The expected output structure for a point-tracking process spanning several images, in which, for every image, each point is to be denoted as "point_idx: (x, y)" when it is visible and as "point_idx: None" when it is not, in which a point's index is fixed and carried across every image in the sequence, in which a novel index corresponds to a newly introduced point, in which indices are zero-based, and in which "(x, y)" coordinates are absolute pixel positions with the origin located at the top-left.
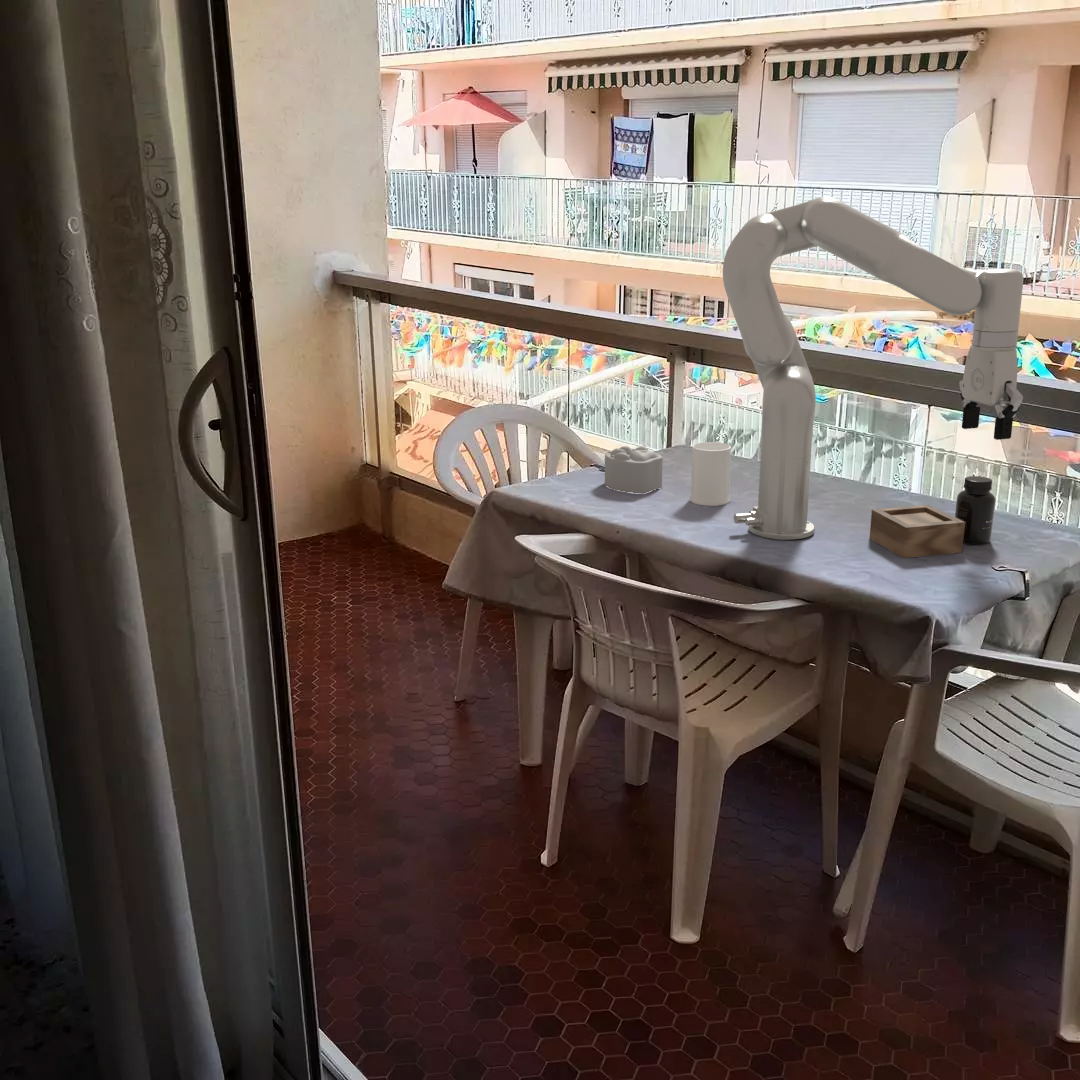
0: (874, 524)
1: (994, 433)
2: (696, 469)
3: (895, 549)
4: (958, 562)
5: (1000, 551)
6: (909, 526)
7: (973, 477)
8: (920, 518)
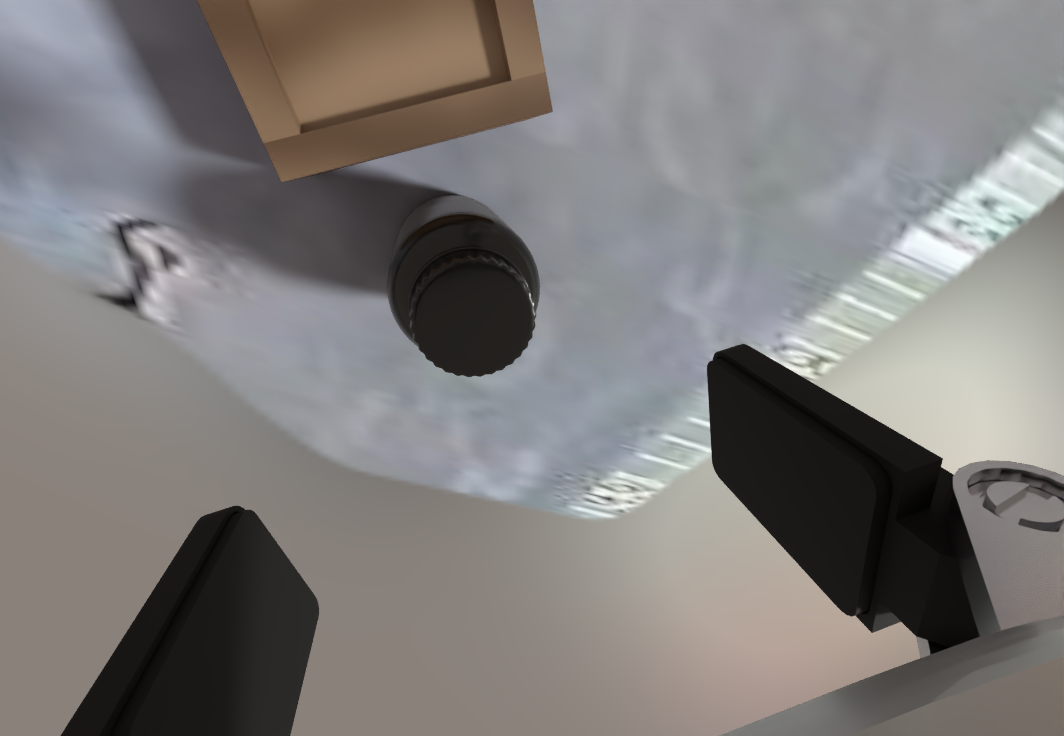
0: None
1: (198, 546)
2: None
3: None
4: (183, 118)
5: (344, 304)
6: None
7: (505, 306)
8: (393, 6)
